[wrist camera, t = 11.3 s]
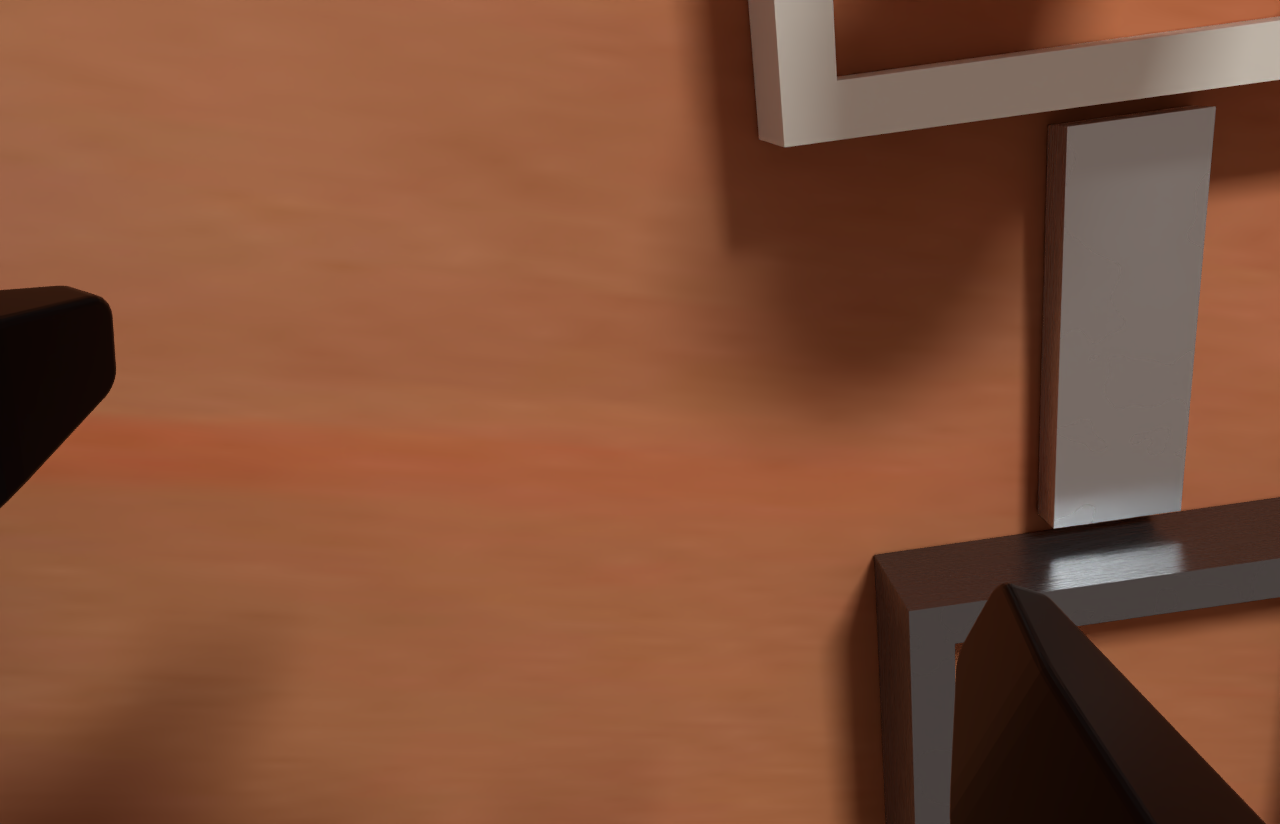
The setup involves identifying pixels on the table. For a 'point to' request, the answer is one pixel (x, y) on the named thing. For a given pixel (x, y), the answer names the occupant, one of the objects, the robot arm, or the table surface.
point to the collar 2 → (1074, 580)
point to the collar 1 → (980, 76)
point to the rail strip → (1120, 311)
